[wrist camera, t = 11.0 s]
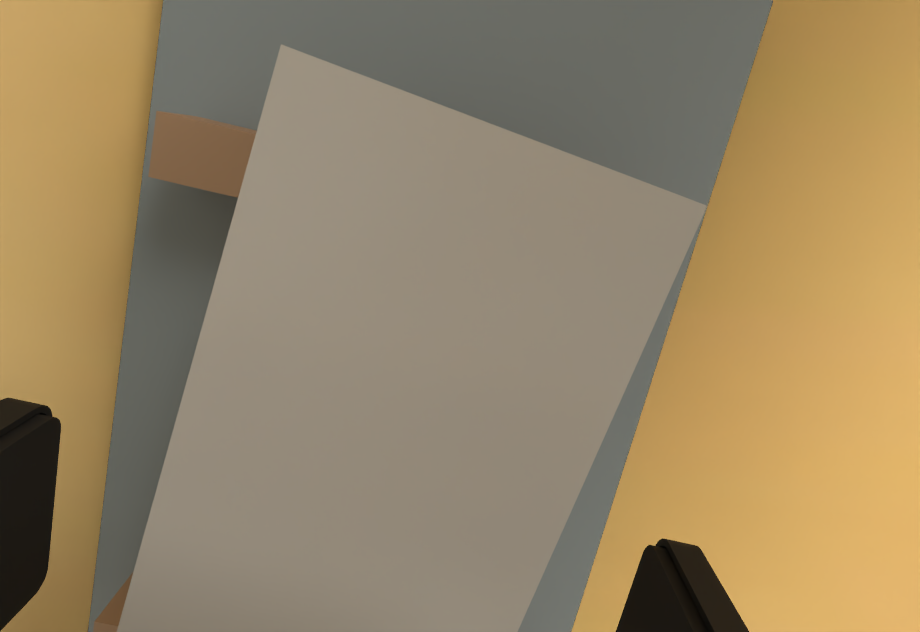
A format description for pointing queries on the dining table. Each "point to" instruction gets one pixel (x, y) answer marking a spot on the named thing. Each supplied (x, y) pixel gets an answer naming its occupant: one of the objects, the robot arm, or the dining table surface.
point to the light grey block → (398, 368)
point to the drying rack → (446, 83)
